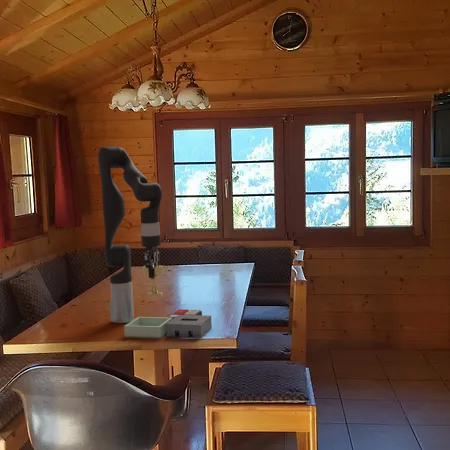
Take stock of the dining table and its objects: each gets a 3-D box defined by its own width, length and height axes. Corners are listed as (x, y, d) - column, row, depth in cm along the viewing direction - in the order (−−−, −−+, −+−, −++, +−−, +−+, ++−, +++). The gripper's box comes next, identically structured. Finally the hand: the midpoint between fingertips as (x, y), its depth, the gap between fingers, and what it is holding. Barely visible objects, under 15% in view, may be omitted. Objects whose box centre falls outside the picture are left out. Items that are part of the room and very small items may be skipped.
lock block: (167, 336, 225) (166, 323, 225) (179, 326, 239) (178, 314, 238) (201, 337, 221) (200, 325, 221) (211, 327, 235) (211, 315, 234)
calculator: (202, 309, 253) (192, 316, 239) (202, 318, 254) (193, 326, 239) (178, 308, 256) (167, 315, 241) (178, 318, 256) (167, 325, 241)
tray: (124, 337, 227) (124, 325, 226) (139, 327, 240) (138, 316, 240) (160, 338, 223) (159, 327, 222) (173, 328, 236) (172, 317, 236)
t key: (165, 295, 230) (163, 265, 229) (163, 296, 228) (161, 266, 227) (146, 294, 232) (144, 265, 231) (144, 296, 230) (142, 266, 229)
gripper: (153, 236, 220) (155, 281, 222) (165, 231, 233) (167, 273, 235) (134, 236, 222) (137, 280, 224) (148, 231, 235) (150, 273, 237)
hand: (153, 276), depth 229 cm, fingers closed on t key, 2 cm apart
